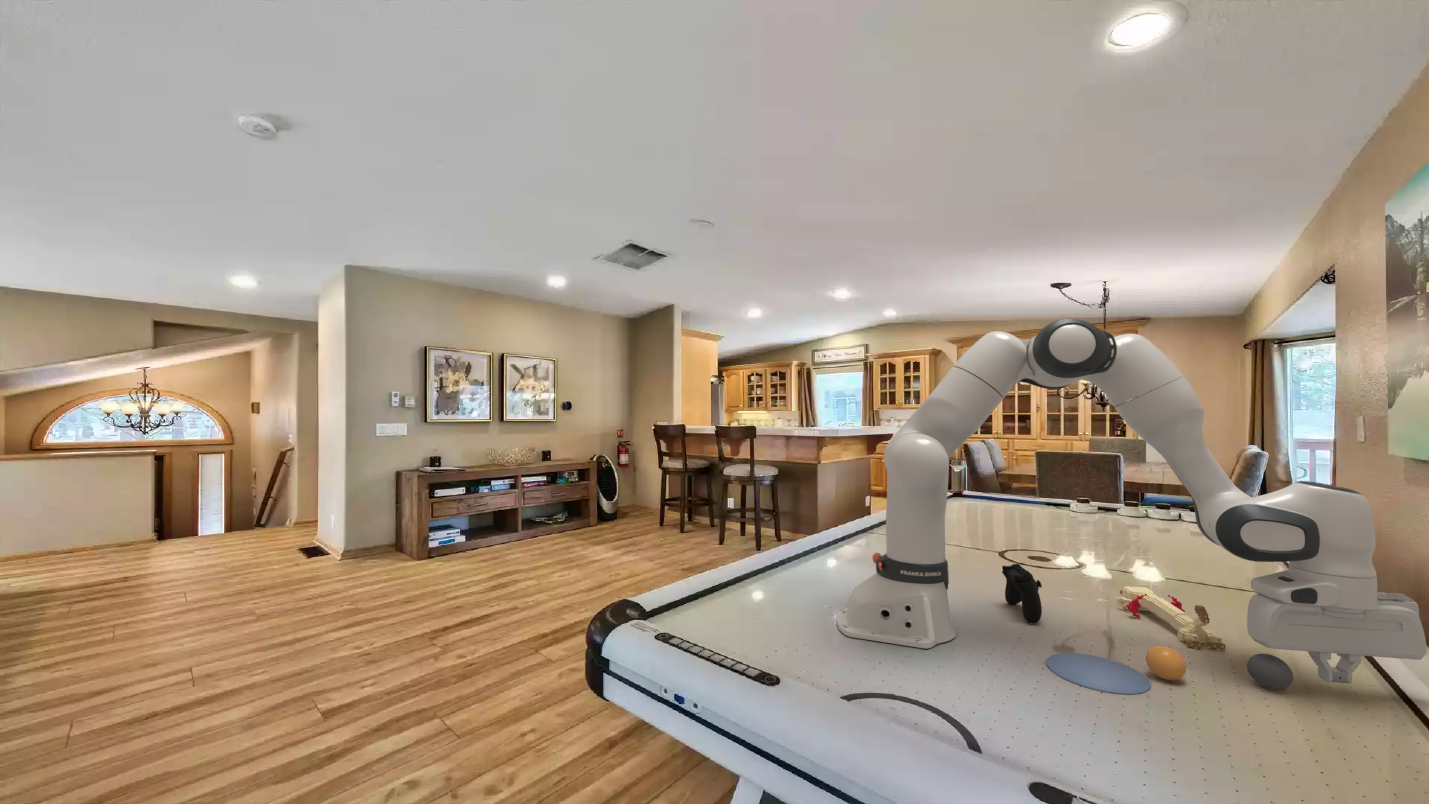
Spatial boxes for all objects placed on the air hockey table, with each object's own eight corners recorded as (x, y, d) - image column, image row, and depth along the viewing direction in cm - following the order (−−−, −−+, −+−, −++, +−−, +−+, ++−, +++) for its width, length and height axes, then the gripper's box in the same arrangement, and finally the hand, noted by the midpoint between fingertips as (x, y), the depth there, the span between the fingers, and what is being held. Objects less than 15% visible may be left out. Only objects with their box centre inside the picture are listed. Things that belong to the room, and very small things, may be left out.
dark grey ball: (1263, 694, 81) (1262, 660, 81) (1238, 678, 86) (1237, 646, 86) (1303, 697, 80) (1302, 663, 80) (1276, 681, 85) (1274, 649, 85)
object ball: (1157, 684, 84) (1156, 652, 84) (1139, 670, 89) (1138, 639, 89) (1194, 687, 83) (1193, 655, 83) (1174, 673, 87) (1173, 642, 88)
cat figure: (1238, 660, 96) (1153, 602, 120) (1240, 612, 95) (1154, 564, 120) (1175, 655, 98) (1103, 599, 122) (1176, 608, 97) (1104, 562, 122)
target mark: (1067, 689, 82) (1067, 687, 82) (1033, 650, 96) (1033, 649, 96) (1172, 698, 79) (1172, 697, 79) (1121, 658, 93) (1121, 656, 93)
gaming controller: (1053, 627, 107) (1051, 577, 107) (1020, 625, 108) (1019, 575, 108) (1026, 604, 121) (1025, 559, 121) (997, 602, 122) (997, 558, 122)
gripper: (1394, 587, 82) (1398, 678, 82) (1238, 578, 87) (1241, 665, 86) (1440, 601, 76) (1444, 699, 76) (1270, 591, 81) (1273, 684, 80)
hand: (1334, 681), depth 81 cm, fingers closed
